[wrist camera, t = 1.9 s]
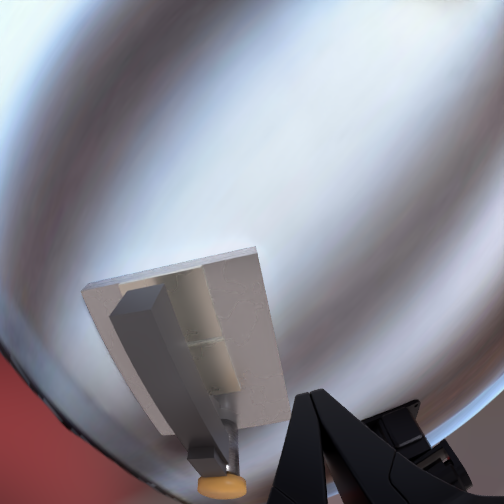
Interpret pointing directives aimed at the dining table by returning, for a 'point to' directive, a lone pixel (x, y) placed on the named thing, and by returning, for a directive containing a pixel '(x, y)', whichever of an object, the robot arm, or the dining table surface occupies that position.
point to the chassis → (209, 338)
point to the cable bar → (176, 385)
